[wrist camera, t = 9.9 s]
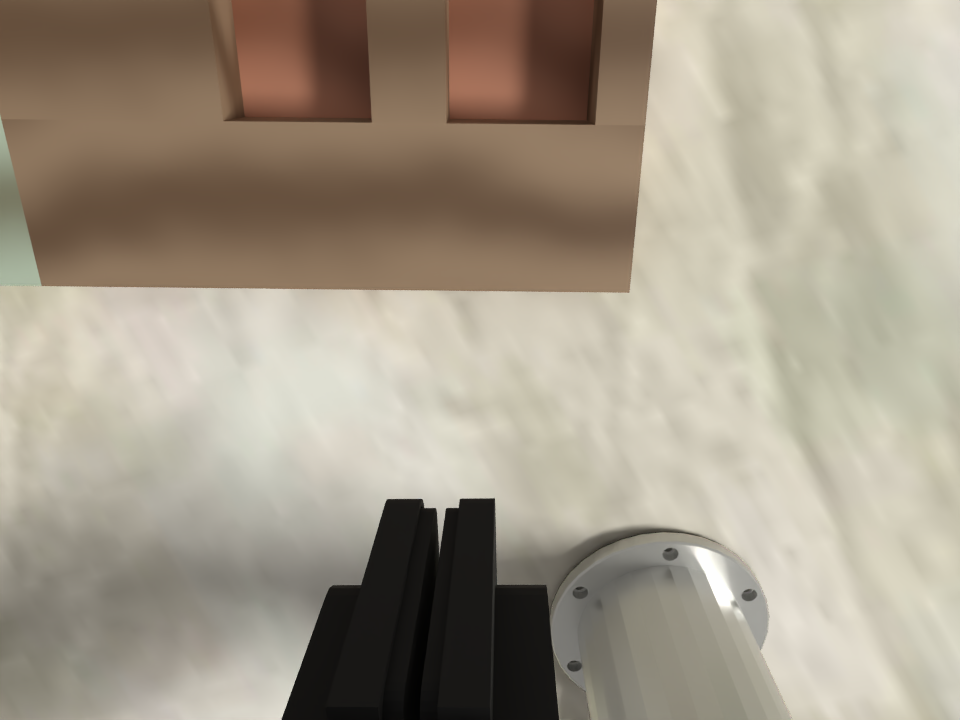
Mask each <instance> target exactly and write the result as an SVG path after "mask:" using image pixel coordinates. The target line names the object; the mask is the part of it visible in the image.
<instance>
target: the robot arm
mask: <svg viewBox="0 0 960 720" xmlns="http://www.w3.org/2000/svg"><path fill="white" fill-rule="evenodd" d="M768 624H769V611H768V605H767V599H766V597H765V595H764V592H763V590H762V588H761V586H760V584H759V582H758V580H757V579H756V577H755V575H754V574H753V572H752V570H751V569H750V567H749V566H748V565H747V564H746V563H745V562H744V561H743V560H742V559H741V558H740V557H739V556H738V555H736V554H735V553H733V552H732V551H730V550H729V549H727V548H726V547H724V546H723V545H720V544H718V543H716V542H713V541H711V540H708V539H706V538H703V537H698V536H694V535H689V534H685V533H668V532H660V533H651V534H641V535H637V536H633V537H630V538H626V539H622V540H619V541H617V542H614V543H612V544H610V545H608V546H605V547H603V548H601V549H599V550H598V551H596V552H595V553H593V554H592V555H590V556H589V557H587V558H586V559H584V560H583V561H582V562H581V563H580V564H579V565H578V566H577V567H575V568H574V569H573V570H572V571H571V572H570V573H569V575H568V576H567V577H566V579H565V580H564V582H563V583H562V584H561V586H560V587H559V589H558V592H557V594H556V596H555V598H554V601H553V603H552V609H551V614H550V616H549V605H548V595H547V587H546V585H497V568H496V522H495V498H494V499H460V503H459V508H447V509H446V513H445V520H444V527H443V535H442V542H441V549H440V556H439V543H438V524H437V511H436V508H424V503H423V500H422V499H388V500H387V501H386V503H385V506H384V510H383V513H382V516H381V520H380V523H379V527H378V530H377V534H376V537H375V540H374V544H373V547H372V551H371V554H370V557H369V561H368V564H367V568H366V571H365V574H364V578H363V581H362V585H333V586H332V587H330V588H329V590H328V593H327V595H326V597H325V600H324V603H323V606H322V608H321V611H320V614H319V617H318V619H317V622H316V625H315V628H314V631H313V633H312V636H311V639H310V642H309V645H308V647H307V650H306V653H305V656H304V658H303V661H302V664H301V667H300V670H299V672H298V675H297V678H296V681H295V684H294V686H293V689H292V692H291V695H290V697H289V700H288V703H287V706H286V709H285V711H284V714H283V717H282V720H559V715H558V704H557V693H556V682H555V671H554V660H553V651H554V654H555V656H556V658H557V660H558V663H559V665H560V667H561V668H562V669H563V671H564V672H565V673H566V675H567V676H568V677H569V678H570V679H571V680H572V681H573V682H574V683H575V684H576V685H578V686H579V687H580V688H581V689H582V690H584V691H586V695H587V701H588V708H589V714H590V720H793V719H792V717H791V715H790V713H789V711H788V708H787V706H786V704H785V702H784V700H783V698H782V696H781V693H780V691H779V689H778V687H777V685H776V683H775V681H774V679H773V676H772V674H771V672H770V670H769V668H768V666H767V664H766V661H765V659H764V657H763V655H762V653H761V649H762V647H763V644H764V642H765V639H766V636H767V633H768ZM552 646H553V649H552Z"/></svg>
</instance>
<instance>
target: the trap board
mask: <svg viewBox="0 0 960 720" xmlns="http://www.w3.org/2000/svg"><path fill="white" fill-rule="evenodd" d="M656 5H657V0H0V285H2V286H92V287H181V288H270V289H359V290H449V291H538V292H627V293H629V290H630V279H631V269H632V258H633V248H634V237H635V227H636V216H637V206H638V195H639V184H640V174H641V163H642V153H643V142H644V132H645V121H646V111H647V100H648V89H649V79H650V68H651V58H652V47H653V37H654V26H655V15H656Z"/></svg>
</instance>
